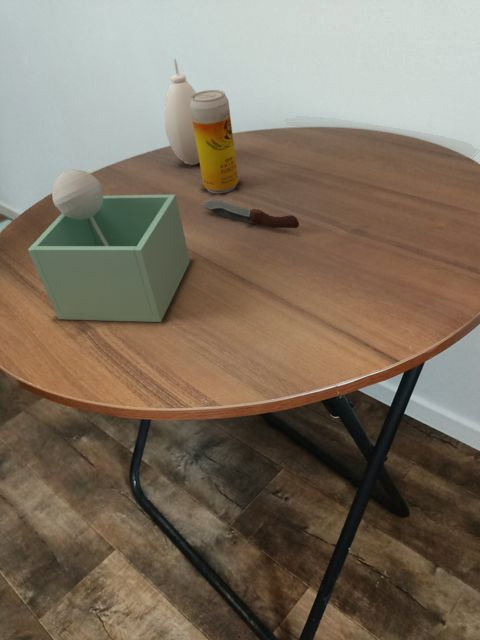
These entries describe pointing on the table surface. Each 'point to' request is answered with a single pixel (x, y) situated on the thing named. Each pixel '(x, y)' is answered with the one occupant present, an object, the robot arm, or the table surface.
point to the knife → (249, 214)
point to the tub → (114, 260)
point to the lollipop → (78, 196)
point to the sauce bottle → (180, 119)
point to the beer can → (214, 140)
